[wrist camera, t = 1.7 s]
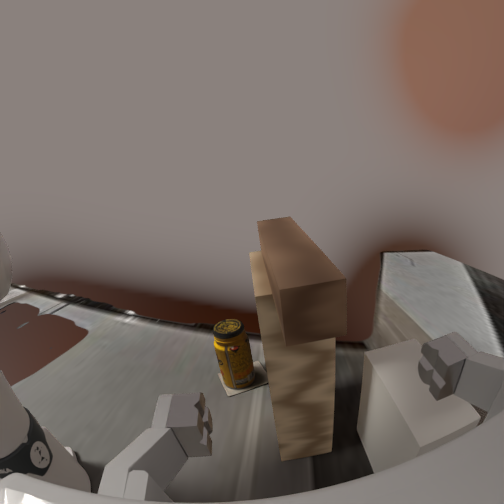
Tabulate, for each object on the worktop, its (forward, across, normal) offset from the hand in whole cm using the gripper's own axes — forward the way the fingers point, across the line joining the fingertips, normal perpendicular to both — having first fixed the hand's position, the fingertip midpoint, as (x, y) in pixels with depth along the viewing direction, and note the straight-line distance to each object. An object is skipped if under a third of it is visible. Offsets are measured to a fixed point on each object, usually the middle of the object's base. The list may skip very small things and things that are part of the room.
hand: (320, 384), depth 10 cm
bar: (+18, -2, +4) cm, 18 cm away
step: (+10, -13, +30) cm, 35 cm away
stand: (+22, -2, +30) cm, 37 cm away
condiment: (+35, +6, +31) cm, 47 cm away
